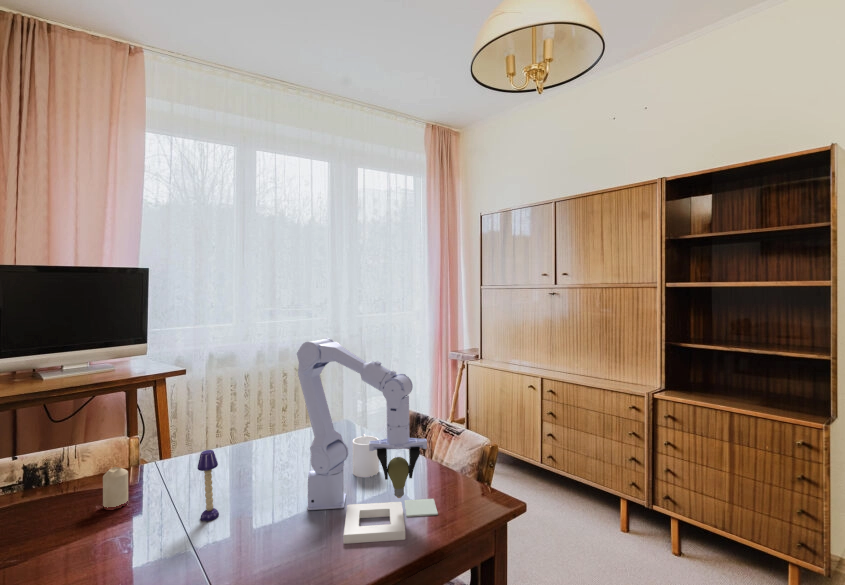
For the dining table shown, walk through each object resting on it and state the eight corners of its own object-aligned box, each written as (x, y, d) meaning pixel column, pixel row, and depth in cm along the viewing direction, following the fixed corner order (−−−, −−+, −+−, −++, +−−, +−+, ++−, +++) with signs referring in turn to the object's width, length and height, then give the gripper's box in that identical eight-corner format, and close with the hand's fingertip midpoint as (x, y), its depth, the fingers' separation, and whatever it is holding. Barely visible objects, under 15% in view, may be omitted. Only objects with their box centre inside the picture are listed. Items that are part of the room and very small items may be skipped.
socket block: (343, 543, 98) (343, 534, 98) (347, 512, 112) (347, 504, 112) (405, 539, 100) (405, 530, 100) (401, 509, 114) (401, 501, 114)
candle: (132, 503, 118) (132, 466, 118) (111, 512, 113) (110, 474, 113) (120, 499, 120) (120, 463, 120) (98, 508, 115) (98, 470, 115)
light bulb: (407, 503, 106) (405, 461, 107) (385, 501, 108) (384, 461, 108) (412, 493, 112) (411, 454, 112) (392, 492, 113) (390, 453, 113)
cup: (376, 461, 146) (376, 431, 146) (380, 476, 134) (380, 443, 134) (351, 463, 144) (351, 433, 144) (353, 478, 133) (353, 445, 133)
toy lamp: (197, 523, 107) (197, 456, 107) (197, 515, 111) (197, 450, 111) (219, 518, 109) (218, 452, 109) (218, 510, 114) (218, 446, 114)
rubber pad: (406, 516, 110) (406, 515, 110) (404, 501, 118) (404, 500, 118) (437, 515, 111) (437, 513, 111) (433, 500, 119) (433, 498, 119)
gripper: (368, 429, 105) (369, 485, 105) (428, 427, 107) (428, 482, 107) (369, 421, 112) (369, 473, 112) (425, 419, 114) (425, 470, 114)
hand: (398, 477), depth 110 cm, fingers closed on light bulb, 5 cm apart
